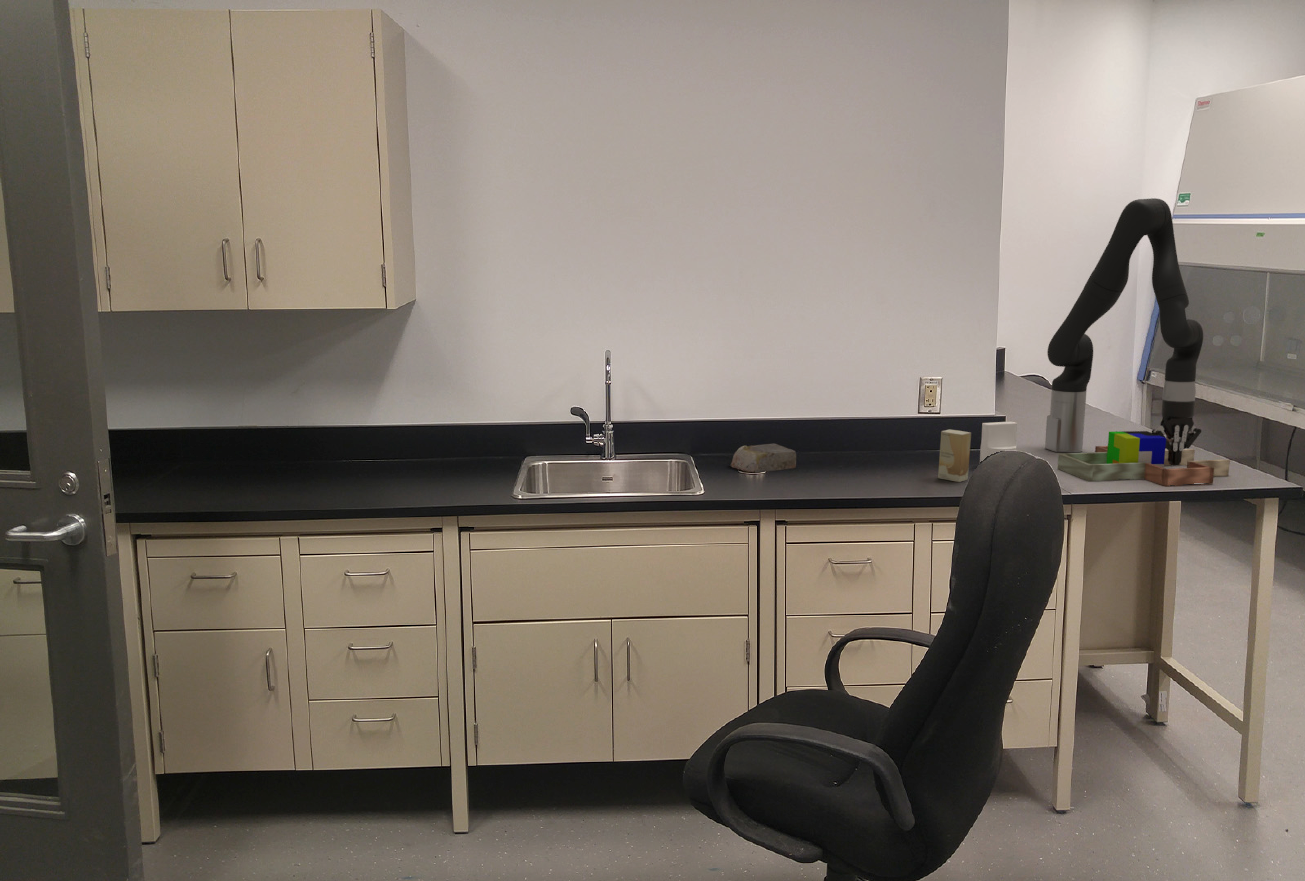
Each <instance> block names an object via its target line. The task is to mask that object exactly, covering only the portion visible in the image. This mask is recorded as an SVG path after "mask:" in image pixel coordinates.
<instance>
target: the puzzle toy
mask: <svg viewBox="0 0 1305 881" xmlns="http://www.w3.org/2000/svg"><path fill="white" fill-rule="evenodd" d="M1165 437H1166V436H1165ZM1165 437H1162V436H1159V435H1156V434H1153V433H1152V431H1151V432H1150V431H1149V430H1148V431H1147V430H1143V431H1142V430H1139V431H1138V430H1137V431H1136V430H1134V431H1132V430H1131V431H1129V430H1128V431H1127V430H1126V431H1125V430H1124V431H1123V430H1122V431H1121V430H1119V431H1117V430H1116V431H1108V439H1107V446H1108V451H1107V464H1115V463H1143V462H1147V463H1150V464H1153V465H1156V466H1159V467H1162V468H1165V466H1164V459H1165V450H1166V449H1165V447H1166V438H1165Z"/></svg>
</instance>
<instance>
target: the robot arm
mask: <svg viewBox="0 0 1305 881" xmlns="http://www.w3.org/2000/svg"><path fill="white" fill-rule="evenodd" d="M1174 232H1175V231H1174V222H1173V217H1172V212H1171V209H1170V206H1169V204H1168V203H1167V202H1166V201H1165V200H1163V199H1161V198H1155V197H1154V198H1152V197H1151V198H1141V199H1140V198H1138V199H1135V200H1132V201H1130V202H1129V203H1128V204H1126V206H1125V207H1124V208H1123V210H1122V212H1121V213H1120V216H1119V217H1118V220H1117V221H1116V225H1115V227H1114V230H1113V232H1112V234H1111V236H1110V239H1109V241H1108V243H1107V244H1106V247H1105V249H1104V250H1103V252H1102V255H1101V256H1100V257H1099V260H1098V261H1097V263H1096V266H1095V267H1094V269H1093V271H1092V272H1091V273H1090V275H1089V277H1088V279H1087V281H1086V283H1085V285H1084V286H1083V289H1082V291H1081V293H1080V294H1079V296H1078V298H1077V300H1076V301H1075V303H1074V304H1073V306H1072V308H1071V310H1070V312H1068V315H1067V316H1066V317H1065V319H1064V321H1062V324H1061V325H1060V326H1059V327H1058V329H1057V330H1056V331H1055V333H1054V334H1053V335H1052V338H1051V339H1050V341H1049V344H1048V347H1047V358H1048V361H1049V363H1051V364H1052V365H1053V366H1056V367H1061V368H1062V367H1064V368H1063V371H1062V372H1061V374H1059V375H1058V376H1057V377H1055V378H1054V379H1052V382H1051V391H1050V392H1051V394H1050V396H1051V397H1050V410H1049V412H1050V413H1049V415H1046V422H1045V423H1046V424H1045V425H1046V426H1045V441H1044V442H1045V444H1044V448H1045V449H1046V450H1049V451H1051V452H1056V453H1082V452H1083V446H1084V433H1085V432H1084V431H1085V419H1086V418H1085V417H1086V403H1087V390H1088V389H1087V388H1088V384H1089V383H1090V380H1091V378H1092V377H1091V376H1092V368H1093V360H1094V345H1093V342H1092V339H1091V338H1090V336H1089V335H1088V334H1086V332H1087V331H1088V329H1089V328H1090V327H1091V326H1093V325H1094V323H1095V322H1097V321H1098V320H1099V319H1100V318H1103V316H1104V315H1105V314H1106V313H1108V312H1109V311H1110V310H1111V309H1112V308H1113V307H1114V306H1115V304H1116V303H1117V302H1118V300H1119V298H1120V297H1121V295H1122V293H1123V292H1124V290H1125V288H1126V285H1127V284H1128V281H1129V274H1130V273H1129V272H1130V261H1131V257H1132V256H1133V255H1132V254H1133V253H1134V251H1135V250H1136V247H1137V246H1138V245H1139V243H1140V241H1141V240H1142V239H1143V237H1145V236H1147V238H1148V240H1149V242H1150V245H1151V246H1150V247H1151V249H1152V254H1153V255H1152V256H1153V259H1152V260H1153V261H1152V262H1153V263H1152V272H1151V283H1152V284H1151V285H1152V290H1153V292H1154V296H1155V299H1156V303H1157V305H1158V308H1159V325H1160V333H1161V337H1162V339H1163V341H1164V343H1165V344H1166V345H1167V346H1168V347H1170V348H1172V349H1173V354H1172V356H1170V357H1169V358H1168V359H1167V361H1166V363H1165V372H1164V382H1163V388H1162V401H1161V402H1162V403H1161V417H1162V418H1161V420H1160V423H1159V425H1160V426H1159V427H1157V428H1156V429H1152V430H1151V433H1153V434H1156V435H1159V436H1162V437H1165V438H1166V447H1165V450H1168V462H1169V464H1170V465H1169V466H1180V465H1179V464H1180V463H1181V457H1182V451H1183V449H1190V448H1191V446H1192V445H1193V443H1194V442H1195V441H1196V440H1197V439H1198V437H1199V436H1200V434H1201V433H1202V429H1201V428H1199V427H1197V426H1195V424H1194V423H1195V422H1194V420H1193V418H1194V416H1195V406H1196V392H1197V390H1196V376H1197V364H1198V363H1197V362H1198V360H1199V357H1200V354H1201V351H1202V346H1203V342H1204V330H1203V327H1202V325H1201V324H1200V323H1199V322H1198V321H1197V320H1195V319H1187V314H1186V308H1188V306H1189V305H1190V301H1189V297H1188V292H1187V290H1186V287H1185V283H1184V280H1183V276H1182V273H1181V270H1180V269H1181V268H1180V265H1179V260H1178V254H1177V247H1176V246H1177V245H1176V240H1175V239H1176V238H1175V233H1174Z"/></svg>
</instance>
